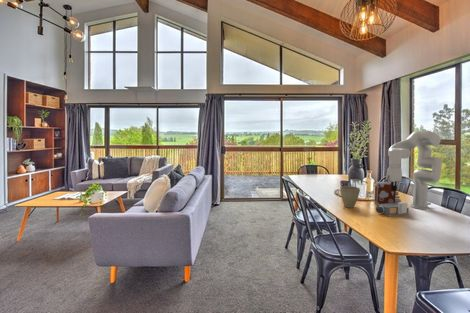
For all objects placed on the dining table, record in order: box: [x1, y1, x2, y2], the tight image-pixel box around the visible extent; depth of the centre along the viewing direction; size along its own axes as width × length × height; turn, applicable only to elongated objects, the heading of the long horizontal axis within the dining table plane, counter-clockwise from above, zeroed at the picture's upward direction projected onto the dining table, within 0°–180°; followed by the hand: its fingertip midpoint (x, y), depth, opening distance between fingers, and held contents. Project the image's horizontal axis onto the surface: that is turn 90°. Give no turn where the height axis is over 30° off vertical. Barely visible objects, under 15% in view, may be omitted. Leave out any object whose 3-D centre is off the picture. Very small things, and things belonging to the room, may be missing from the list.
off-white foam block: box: [398, 201, 408, 214], centre depth 188 cm, size 7×2×8 cm, turn 104°
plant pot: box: [340, 185, 361, 209], centre depth 209 cm, size 15×15×16 cm
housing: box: [375, 203, 409, 217], centre depth 192 cm, size 21×11×7 cm, turn 104°
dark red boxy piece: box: [374, 181, 402, 206], centre depth 211 cm, size 9×19×20 cm, turn 78°
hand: (393, 190), depth 186 cm, fingers closed
